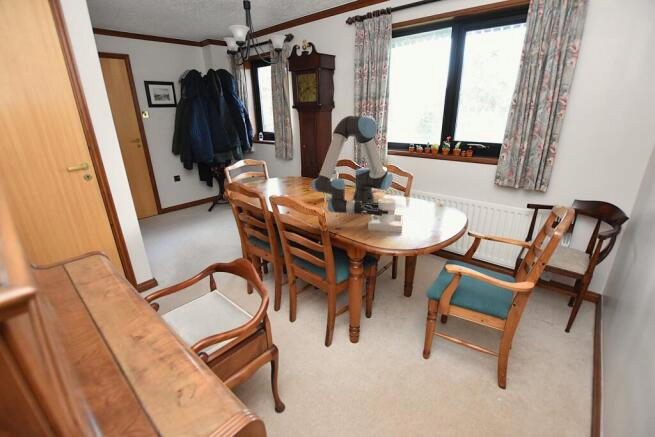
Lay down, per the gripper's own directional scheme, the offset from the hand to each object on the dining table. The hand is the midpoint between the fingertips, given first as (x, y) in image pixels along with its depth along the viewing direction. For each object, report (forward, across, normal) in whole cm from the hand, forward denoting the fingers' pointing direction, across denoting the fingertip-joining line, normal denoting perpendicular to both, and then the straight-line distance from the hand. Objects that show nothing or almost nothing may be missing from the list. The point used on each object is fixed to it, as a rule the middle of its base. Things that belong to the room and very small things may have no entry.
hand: (394, 209), depth 171 cm
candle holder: (-5, 0, -7) cm, 8 cm away
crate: (-4, 0, -10) cm, 11 cm away
